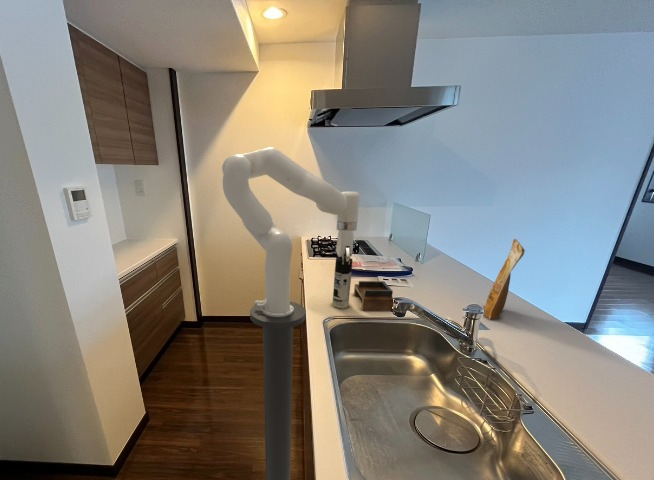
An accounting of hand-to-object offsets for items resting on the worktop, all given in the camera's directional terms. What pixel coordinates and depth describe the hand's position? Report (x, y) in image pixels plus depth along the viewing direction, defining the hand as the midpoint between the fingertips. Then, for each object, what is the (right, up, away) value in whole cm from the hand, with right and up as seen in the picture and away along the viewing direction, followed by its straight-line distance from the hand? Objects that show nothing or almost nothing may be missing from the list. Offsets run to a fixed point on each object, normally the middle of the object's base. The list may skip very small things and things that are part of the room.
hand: (343, 270), depth 127 cm
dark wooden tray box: (+14, -13, +9) cm, 21 cm away
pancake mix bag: (+59, -17, -2) cm, 61 cm away
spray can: (0, -14, +6) cm, 15 cm away
